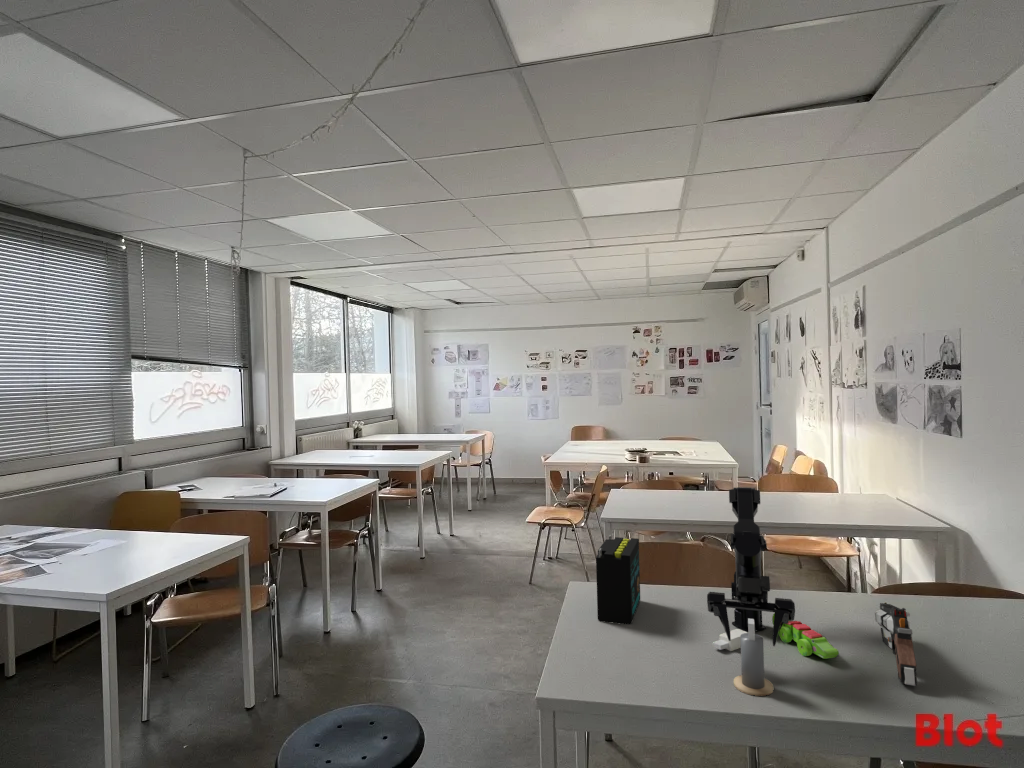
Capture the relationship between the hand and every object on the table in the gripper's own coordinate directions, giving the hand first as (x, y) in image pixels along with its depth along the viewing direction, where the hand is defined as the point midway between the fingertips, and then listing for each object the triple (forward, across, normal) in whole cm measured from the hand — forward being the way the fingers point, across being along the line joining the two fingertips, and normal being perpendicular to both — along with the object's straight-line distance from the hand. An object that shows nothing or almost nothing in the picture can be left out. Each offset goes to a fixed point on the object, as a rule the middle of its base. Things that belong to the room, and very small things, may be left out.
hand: (751, 642), depth 129 cm
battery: (-16, -35, +28) cm, 48 cm away
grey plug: (+8, 0, +2) cm, 8 cm away
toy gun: (-7, +32, +19) cm, 38 cm away
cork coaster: (+8, 0, +3) cm, 9 cm away
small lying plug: (-5, -5, +17) cm, 18 cm away
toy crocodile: (-8, +12, +21) cm, 25 cm away
